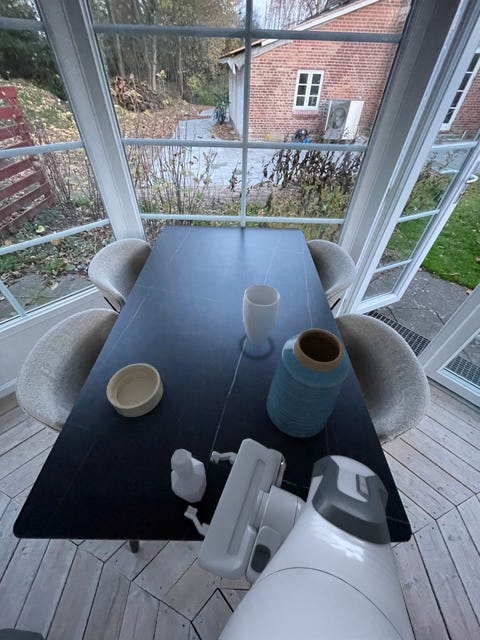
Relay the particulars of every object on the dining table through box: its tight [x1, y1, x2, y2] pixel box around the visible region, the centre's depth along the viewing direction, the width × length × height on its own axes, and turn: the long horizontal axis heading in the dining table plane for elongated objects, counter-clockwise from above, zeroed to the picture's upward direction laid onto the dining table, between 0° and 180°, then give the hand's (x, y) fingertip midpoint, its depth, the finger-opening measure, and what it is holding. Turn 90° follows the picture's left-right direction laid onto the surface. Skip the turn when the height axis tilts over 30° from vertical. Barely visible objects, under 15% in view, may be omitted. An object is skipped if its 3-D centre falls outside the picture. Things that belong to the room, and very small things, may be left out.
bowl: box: [106, 362, 164, 418], centre depth 71 cm, size 13×13×6 cm
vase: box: [266, 328, 351, 439], centre depth 61 cm, size 16×16×27 cm
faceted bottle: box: [170, 448, 207, 504], centre depth 49 cm, size 6×6×22 cm
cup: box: [242, 283, 281, 346], centre depth 78 cm, size 10×10×22 cm
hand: (199, 481), depth 48 cm, fingers open, 8 cm apart
